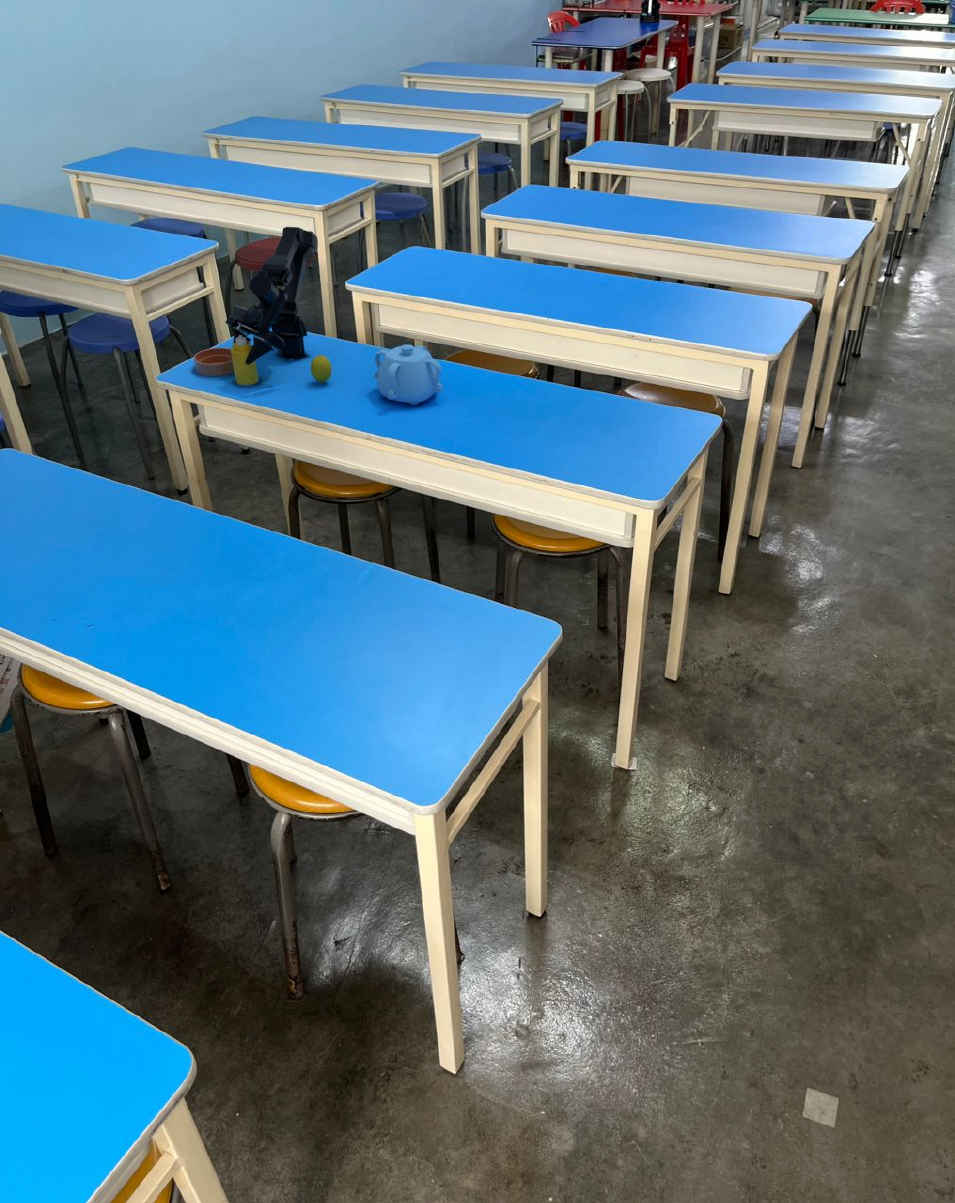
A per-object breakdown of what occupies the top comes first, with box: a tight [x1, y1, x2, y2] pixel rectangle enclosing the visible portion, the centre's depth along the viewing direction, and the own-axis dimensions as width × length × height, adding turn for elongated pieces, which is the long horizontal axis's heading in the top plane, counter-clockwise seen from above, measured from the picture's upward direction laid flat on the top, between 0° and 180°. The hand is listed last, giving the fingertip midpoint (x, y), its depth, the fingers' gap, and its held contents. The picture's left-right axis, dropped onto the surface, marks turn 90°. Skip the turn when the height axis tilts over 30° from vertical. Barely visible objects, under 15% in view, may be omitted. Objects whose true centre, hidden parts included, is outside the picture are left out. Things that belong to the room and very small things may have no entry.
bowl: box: [193, 347, 235, 377], centre depth 260 cm, size 12×12×4 cm
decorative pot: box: [374, 343, 444, 406], centre depth 244 cm, size 16×16×14 cm
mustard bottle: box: [230, 335, 260, 386], centre depth 250 cm, size 6×6×13 cm
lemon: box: [310, 354, 333, 384], centre depth 252 cm, size 6×6×8 cm
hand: (239, 360), depth 250 cm, fingers closed on mustard bottle, 6 cm apart
